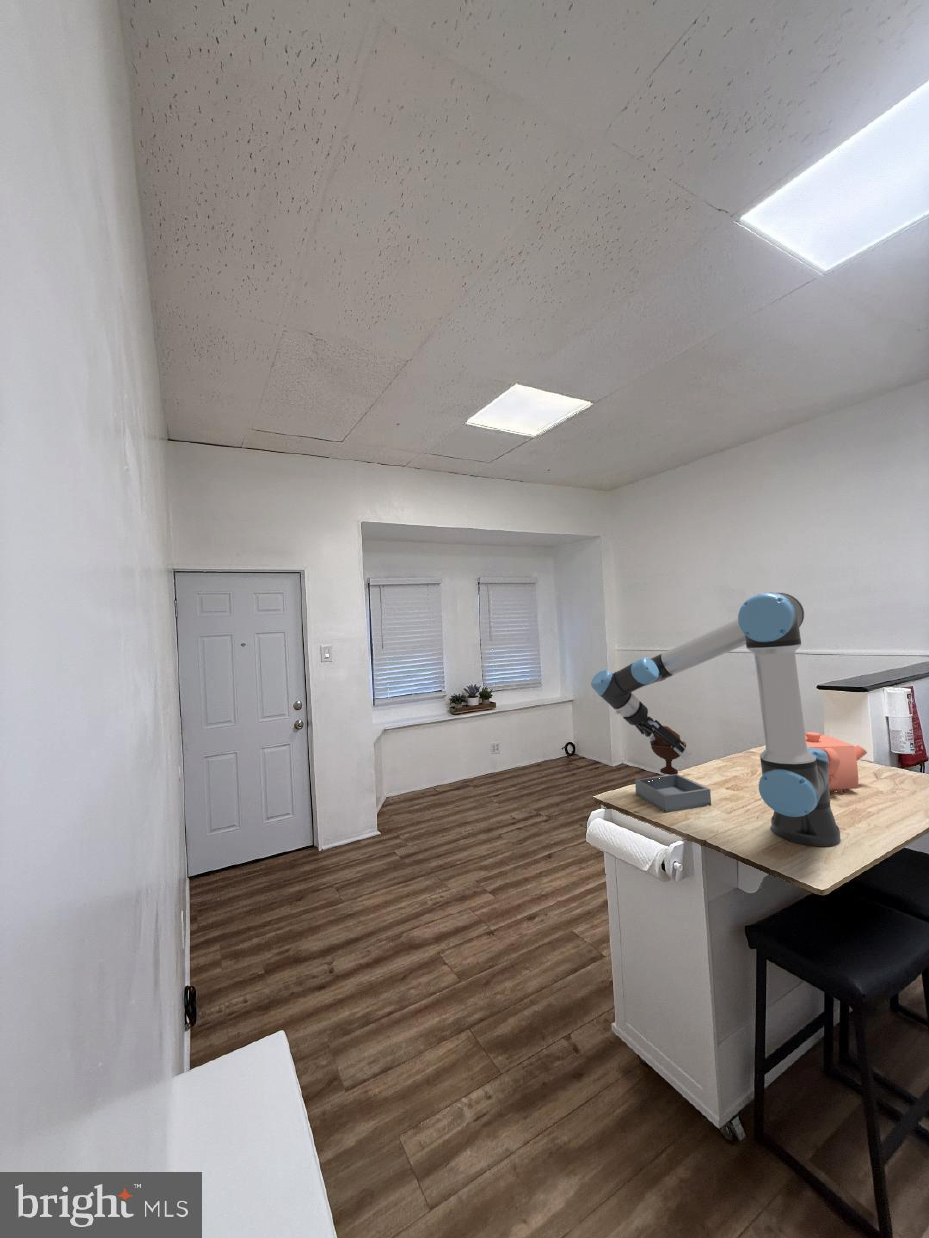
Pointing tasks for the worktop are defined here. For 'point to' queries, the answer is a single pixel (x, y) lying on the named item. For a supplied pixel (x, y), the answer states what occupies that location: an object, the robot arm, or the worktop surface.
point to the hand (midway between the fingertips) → (675, 751)
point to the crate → (673, 792)
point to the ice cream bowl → (666, 752)
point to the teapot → (838, 760)
